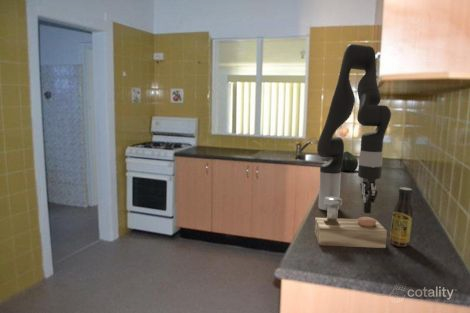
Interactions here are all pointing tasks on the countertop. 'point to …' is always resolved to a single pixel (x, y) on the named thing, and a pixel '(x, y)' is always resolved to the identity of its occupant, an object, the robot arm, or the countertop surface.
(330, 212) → the grey peg
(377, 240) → the beech block
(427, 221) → the countertop surface
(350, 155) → the squash
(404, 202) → the sauce bottle
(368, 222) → the terracotta peg
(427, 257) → the countertop surface
